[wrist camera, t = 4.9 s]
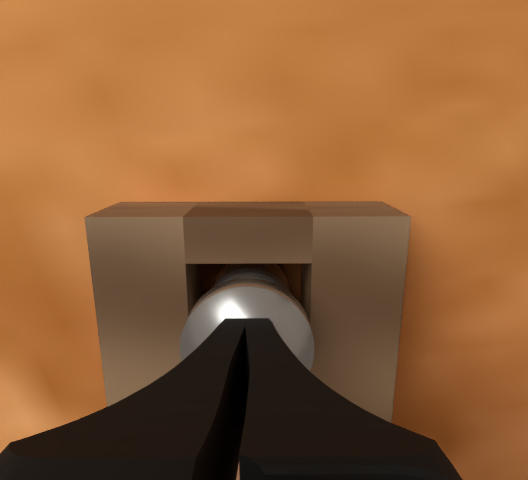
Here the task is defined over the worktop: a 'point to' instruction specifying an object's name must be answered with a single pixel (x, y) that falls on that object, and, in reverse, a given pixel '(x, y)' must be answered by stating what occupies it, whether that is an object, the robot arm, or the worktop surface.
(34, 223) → the worktop surface
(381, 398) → the walnut block
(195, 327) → the grey plug
